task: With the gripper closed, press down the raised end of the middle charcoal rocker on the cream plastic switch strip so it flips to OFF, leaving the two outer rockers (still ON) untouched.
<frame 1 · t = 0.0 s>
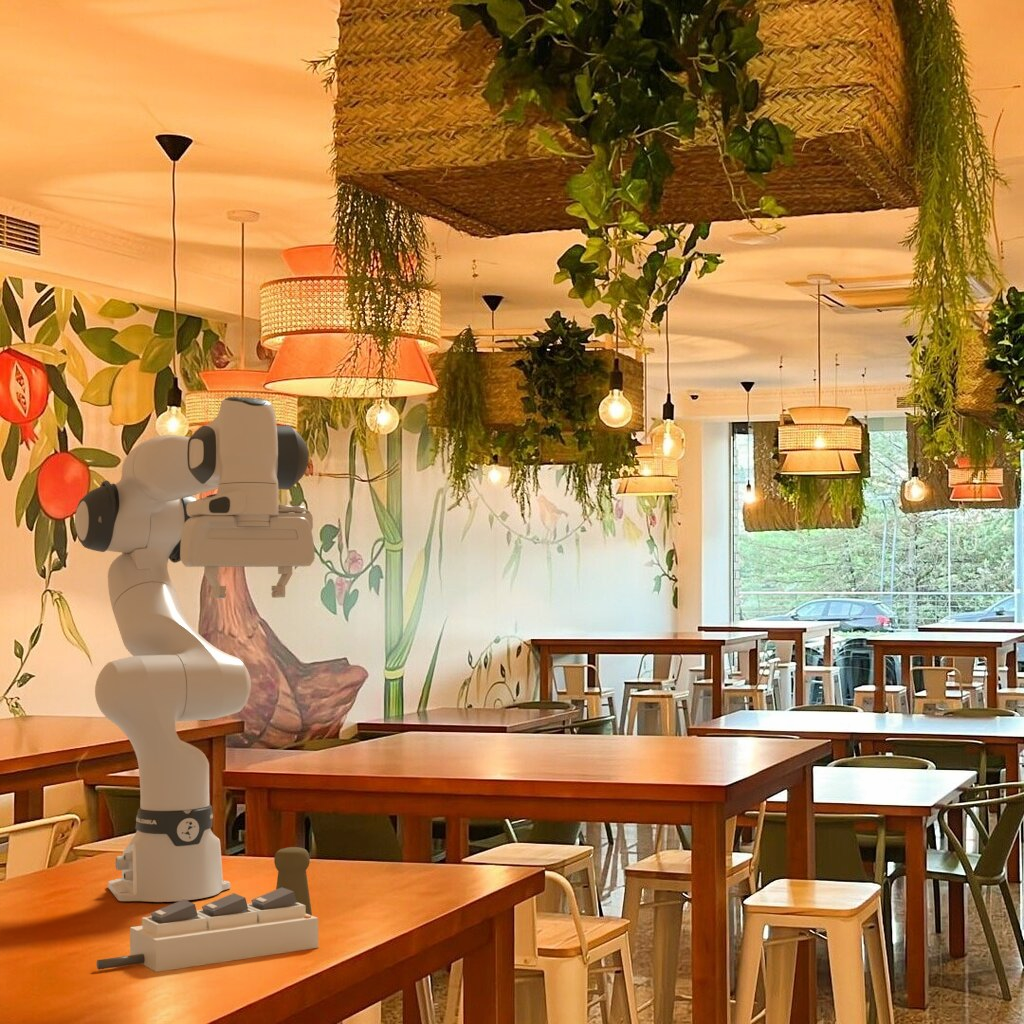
hand: (249, 597, 228), 48 cm above the table, fingers open, 8 cm apart
cork: (292, 924, 228), on the table
switch strip: (225, 952, 209), on the table
rocker 1: (174, 913, 206), point 6 cm above the table, hinge at 15.0°
rocker 2: (224, 907, 209), point 6 cm above the table, hinge at 15.0°
rocker 3: (273, 900, 213), point 6 cm above the table, hinge at 15.0°
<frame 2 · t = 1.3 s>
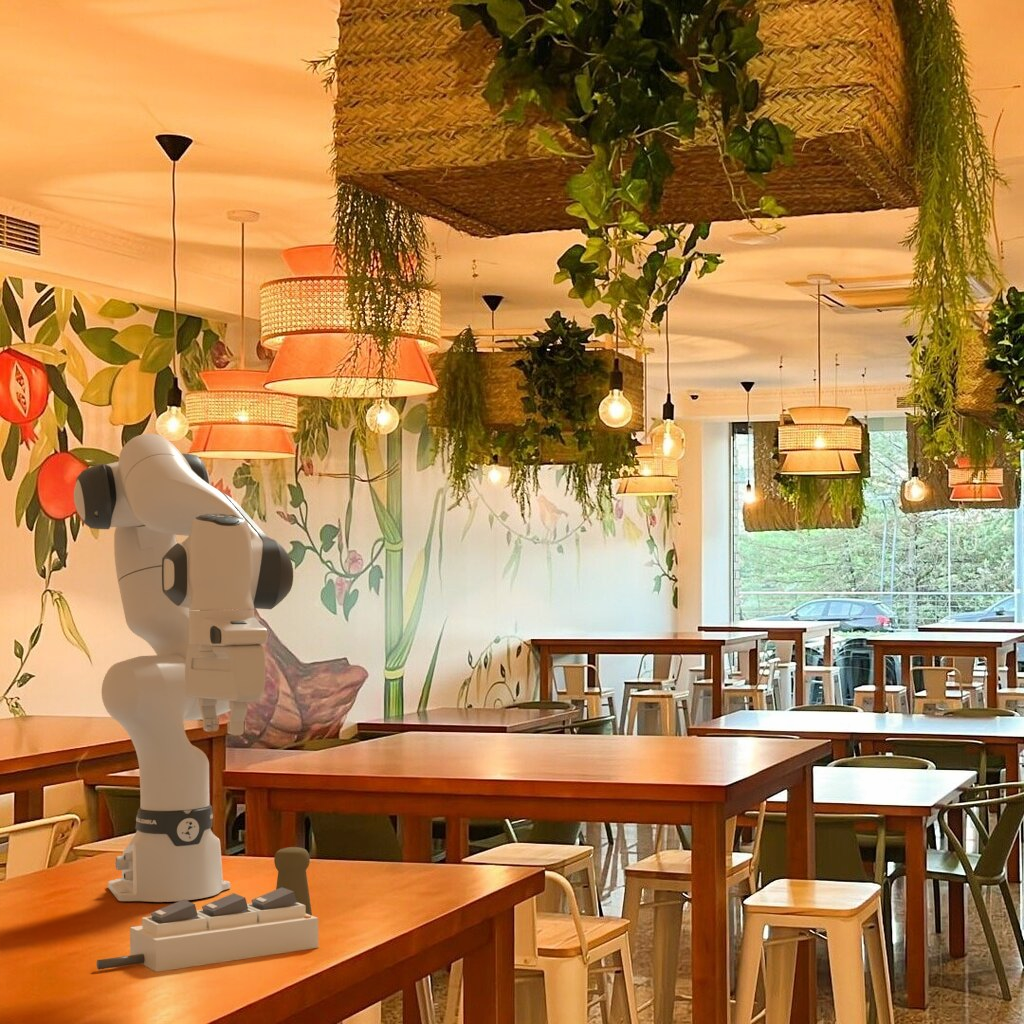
hand: (223, 733, 211), 30 cm above the table, fingers open, 7 cm apart
nothing on the table moved.
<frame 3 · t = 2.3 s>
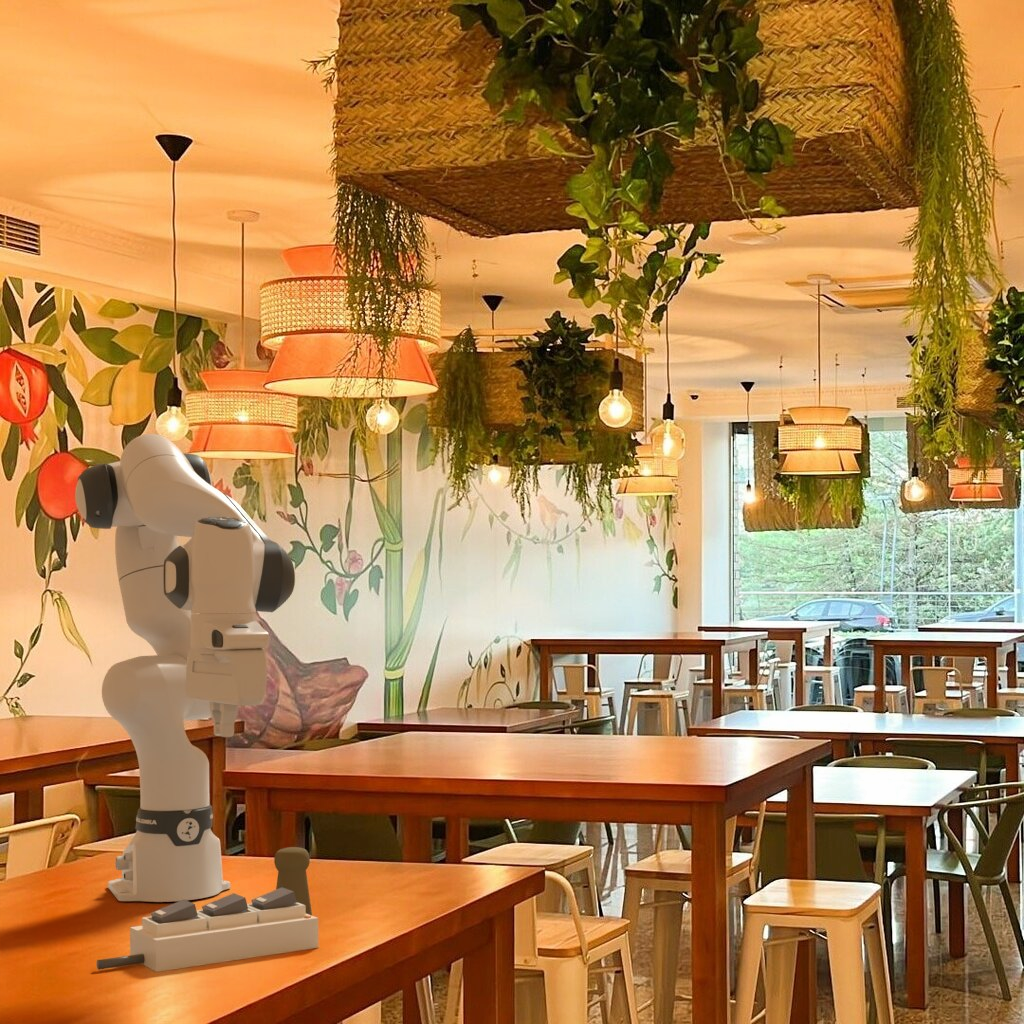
hand: (223, 736, 211), 29 cm above the table, fingers closed
nothing on the table moved.
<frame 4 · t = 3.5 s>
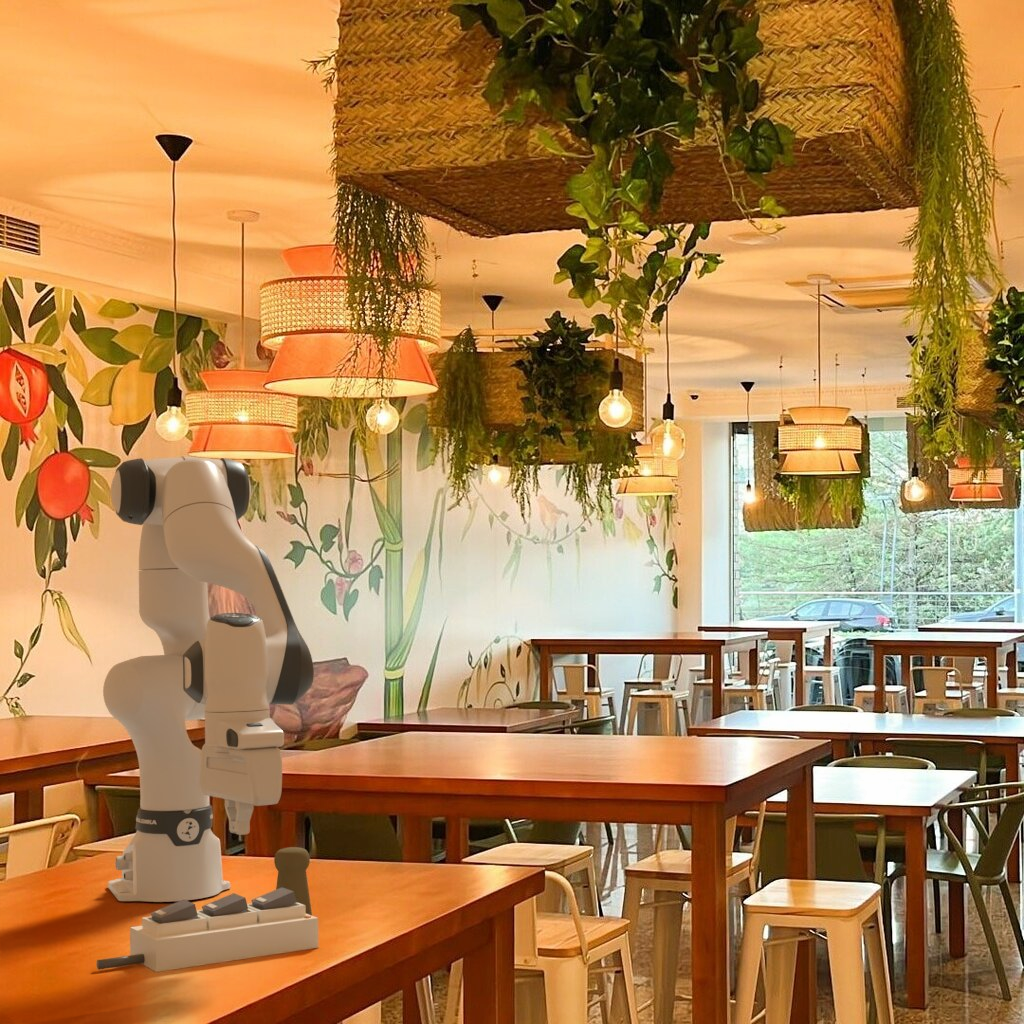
hand: (239, 833, 211), 16 cm above the table, fingers closed
nothing on the table moved.
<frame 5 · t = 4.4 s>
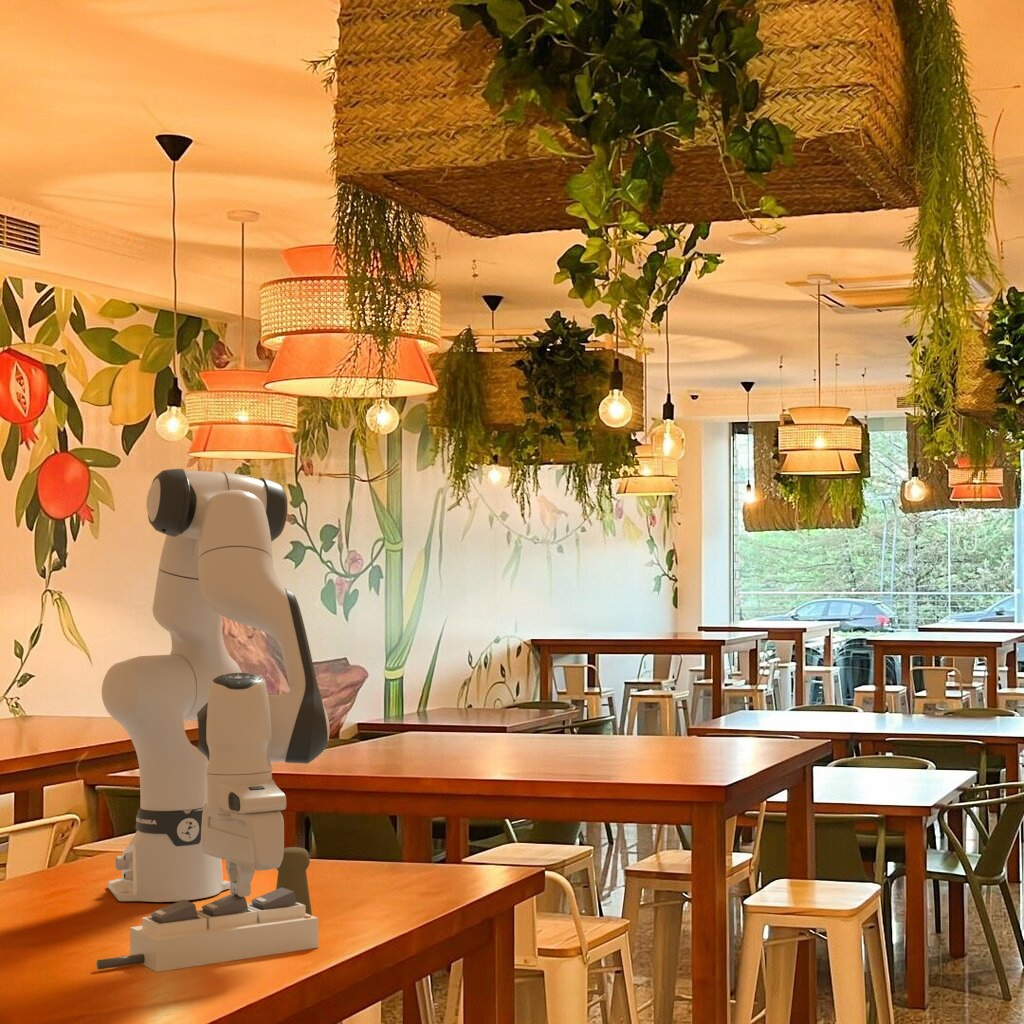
hand: (240, 895, 211), 7 cm above the table, fingers closed, pressing on rocker 2
rocker 2: (224, 907, 209), point 6 cm above the table, hinge at 15.0°, touching gripper
everything else where it was.
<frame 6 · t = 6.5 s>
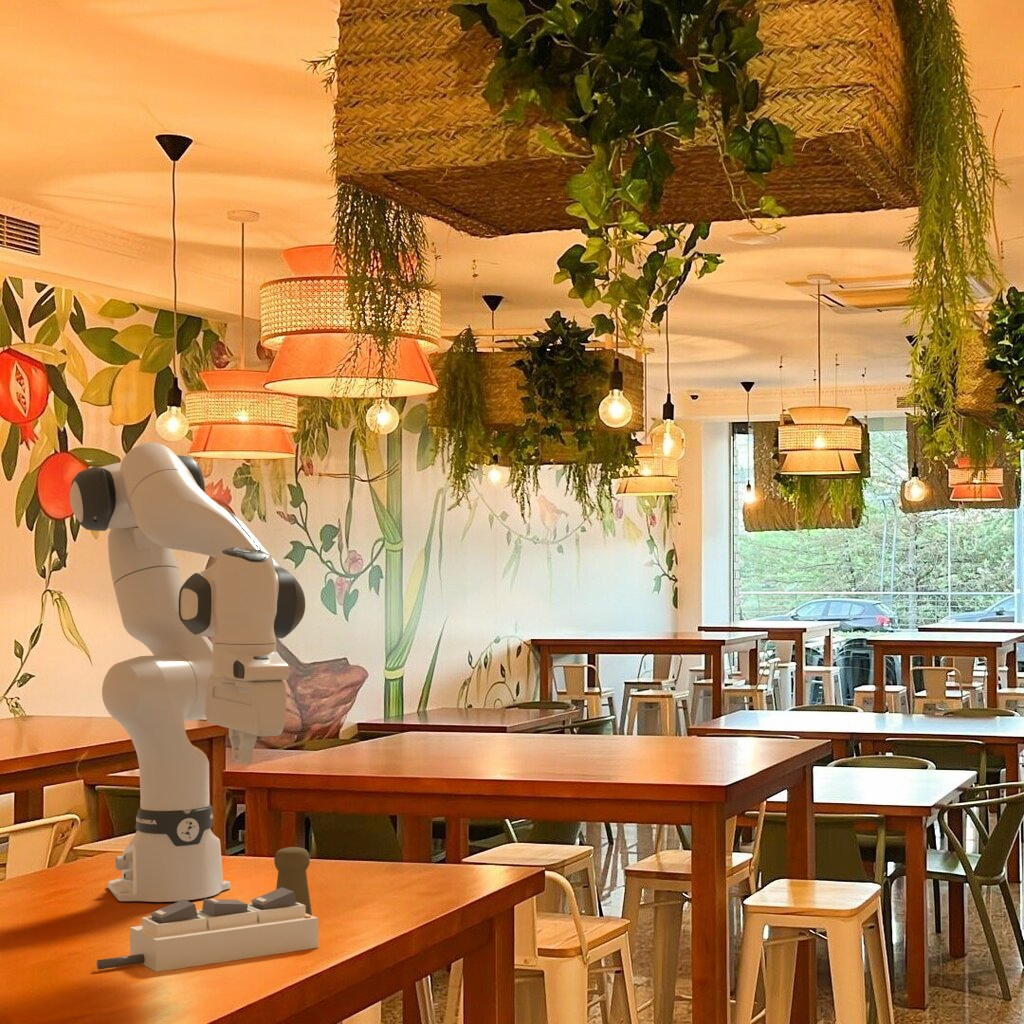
hand: (242, 762, 217), 25 cm above the table, fingers closed
rocker 2: (225, 907, 209), point 6 cm above the table, hinge at -7.5°
everything else where it was.
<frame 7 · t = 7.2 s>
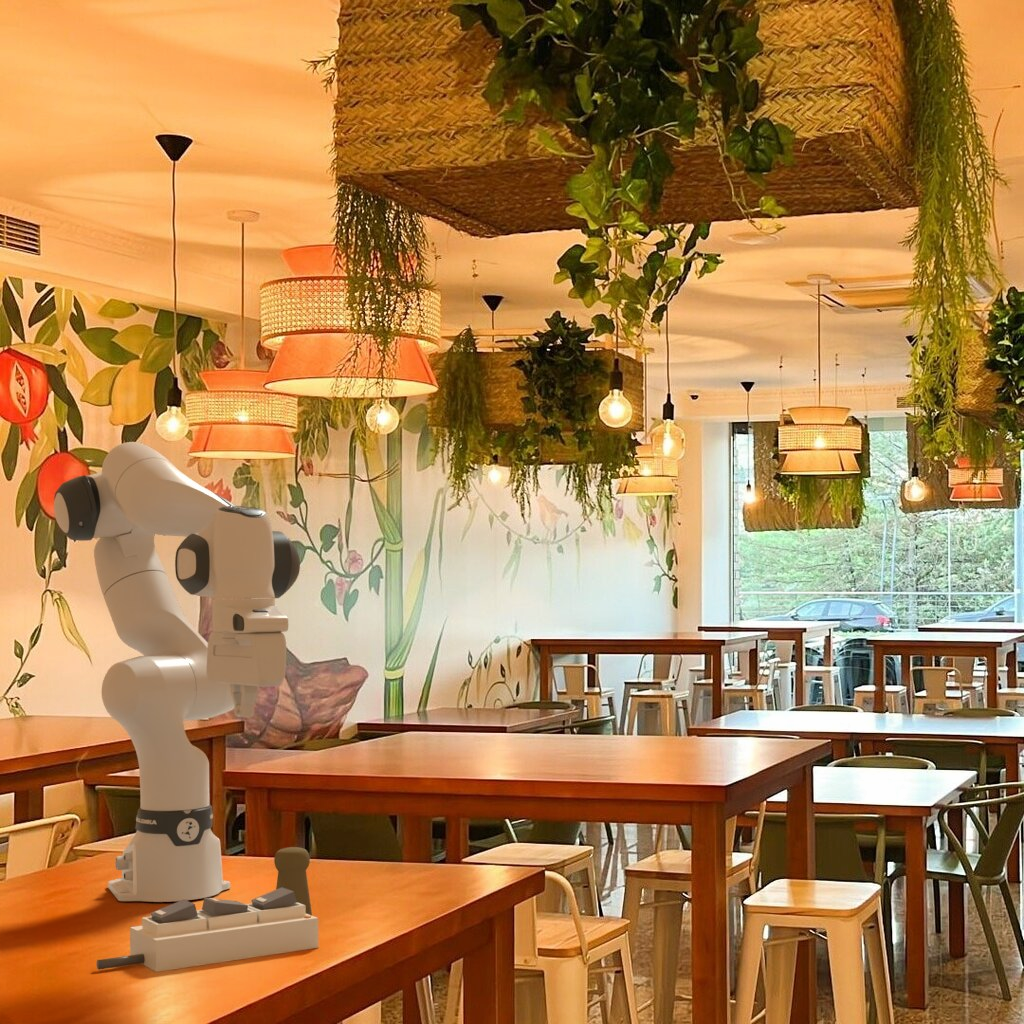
hand: (244, 717, 219), 31 cm above the table, fingers closed
rocker 2: (225, 907, 210), point 6 cm above the table, hinge at -11.5°
everything else where it was.
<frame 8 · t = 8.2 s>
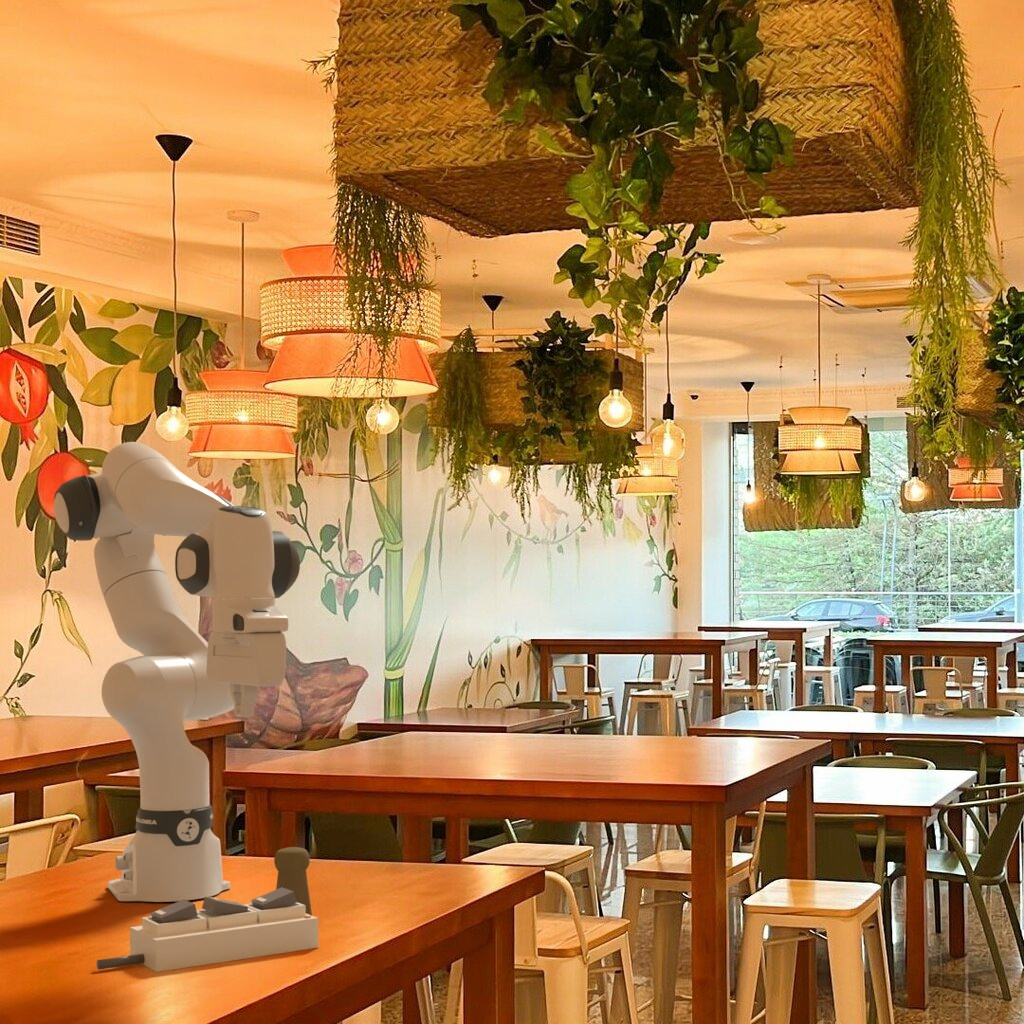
hand: (244, 716, 219), 31 cm above the table, fingers closed
rocker 2: (225, 907, 210), point 6 cm above the table, hinge at -16.1°
everything else where it was.
at the end: rocker 2 at -16° (first picture: +15°); rocker 1 at +15° (first picture: +15°); rocker 3 at +15° (first picture: +15°) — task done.
